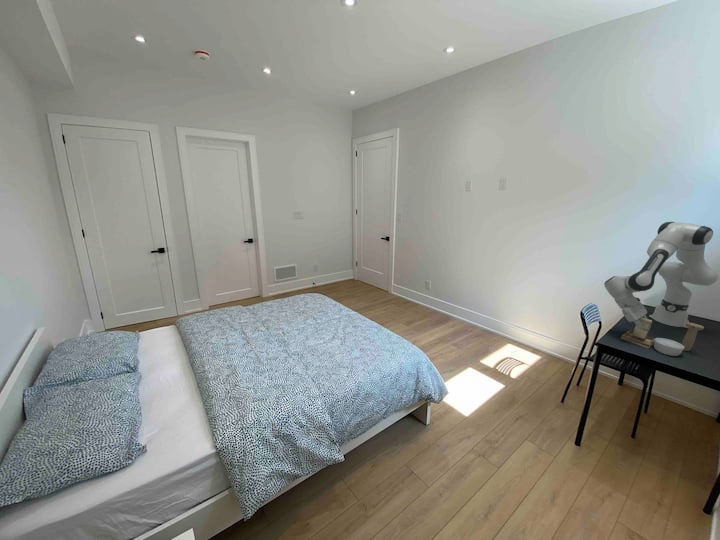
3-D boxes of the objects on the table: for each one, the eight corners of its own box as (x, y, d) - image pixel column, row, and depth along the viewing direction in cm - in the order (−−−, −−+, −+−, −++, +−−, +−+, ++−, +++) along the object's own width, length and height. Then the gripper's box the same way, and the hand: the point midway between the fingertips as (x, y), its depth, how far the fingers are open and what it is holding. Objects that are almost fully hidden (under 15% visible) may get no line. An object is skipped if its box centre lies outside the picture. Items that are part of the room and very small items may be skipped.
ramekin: (647, 348, 160) (650, 339, 158) (657, 344, 164) (661, 335, 162) (674, 359, 150) (678, 350, 148) (685, 355, 154) (688, 346, 153)
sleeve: (634, 335, 170) (640, 317, 167) (645, 339, 166) (652, 320, 163) (631, 338, 168) (637, 319, 164) (642, 342, 164) (649, 322, 160)
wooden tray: (628, 333, 175) (629, 330, 175) (655, 342, 166) (656, 339, 165) (620, 338, 169) (621, 335, 168) (648, 348, 159) (649, 345, 158)
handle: (692, 354, 155) (702, 328, 151) (675, 348, 160) (685, 323, 156) (694, 351, 158) (705, 326, 153) (678, 345, 163) (687, 321, 158)
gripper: (627, 304, 161) (645, 327, 156) (639, 297, 172) (657, 319, 167) (614, 308, 166) (631, 331, 161) (628, 302, 177) (644, 323, 172)
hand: (644, 325), depth 164 cm, fingers open, 8 cm apart
